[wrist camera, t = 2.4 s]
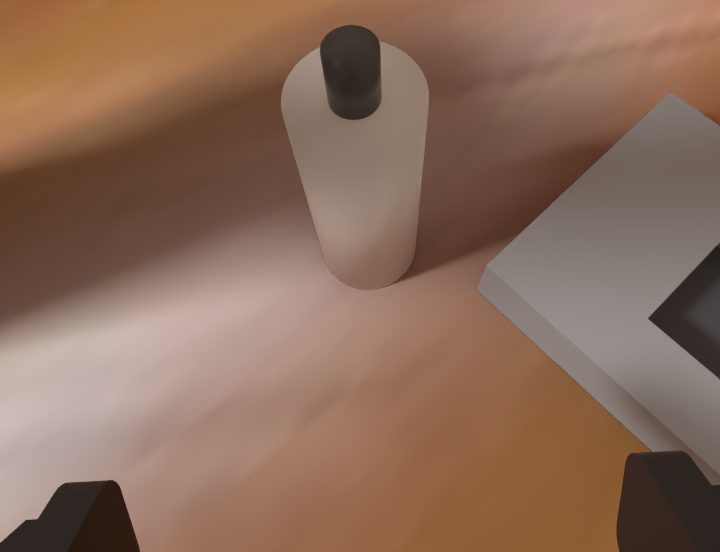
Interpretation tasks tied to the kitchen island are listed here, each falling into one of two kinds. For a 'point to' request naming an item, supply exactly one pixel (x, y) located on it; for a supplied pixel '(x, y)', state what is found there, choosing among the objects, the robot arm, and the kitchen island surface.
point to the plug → (360, 152)
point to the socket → (632, 282)
